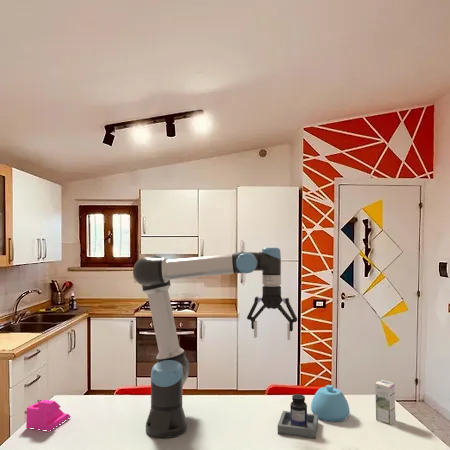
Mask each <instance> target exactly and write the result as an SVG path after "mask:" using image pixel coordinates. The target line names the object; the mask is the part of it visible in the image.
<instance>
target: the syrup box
mask: <svg viewBox="0 0 450 450" xmlns="http://www.w3.org/2000/svg"><path fill="white" fill-rule="evenodd" d="M374 386H375V387H374V389H375V390H374V391H375V392H374V393H375V420H376V421H378V422H381V423H384V424H387V425H388V424H389V425H392V424H393V423H394V422H396V390H395V389H396V384H395V382H392V381H388V380H383V379H379V380H377V381H376V382H375V384H374Z"/></svg>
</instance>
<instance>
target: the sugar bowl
mask: <svg viewBox="0 0 450 450" xmlns="http://www.w3.org/2000/svg"><path fill="white" fill-rule="evenodd" d="M310 411H311V413H313V414H315V415H318V420H322V421H325V422H330V423H331V422H332V423H333V422H334V423H336V422H337V423H338V422H342V421H344V420H346V419H347V418H348V417H349V415H350V412H351V411H350V405H349V403H348V400H347V398H346V397H345V395H344V393H343V392H342V391H341V389H339V388H336V387H334V385H332V384H326V385H325V386H324V387H320V388H318V389H317V391H316V392H315V393H314V395H313V397H312V399H311V405H310Z"/></svg>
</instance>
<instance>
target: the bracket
mask: <svg viewBox="0 0 450 450" xmlns="http://www.w3.org/2000/svg"><path fill="white" fill-rule="evenodd" d="M60 408H62V406H60V404H59V403H58V402H57V401H56V400H49V399H42V400H40V401H38V402H35V403H34V404H32V405H30V406H27V407H26V420H25V421H26V422H25V423H26V426H25V428H34V429H40V430H47V431H50V430H52V429H53V428H55V427H56V426H58V425H59V424H61V423H62V422H64V421H65V420H67V419H68V418H70V417H71V415H70V414H68V413H64V411H63V410H62V409H60ZM61 425H62V424H61ZM58 427H59V426H58ZM55 429H56V428H55ZM52 431H53V430H52Z"/></svg>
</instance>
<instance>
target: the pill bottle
mask: <svg viewBox="0 0 450 450" xmlns="http://www.w3.org/2000/svg"><path fill="white" fill-rule="evenodd" d="M291 397H292V398H291V400H292V401H291V402H290V404H289V405H290V412H291V426H299V427H307V414H308V405H307V403H306V402H305V401H306V396H305V395H303V394H300V393H299V394H298V393H296V394H293V395H292V396H291Z"/></svg>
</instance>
